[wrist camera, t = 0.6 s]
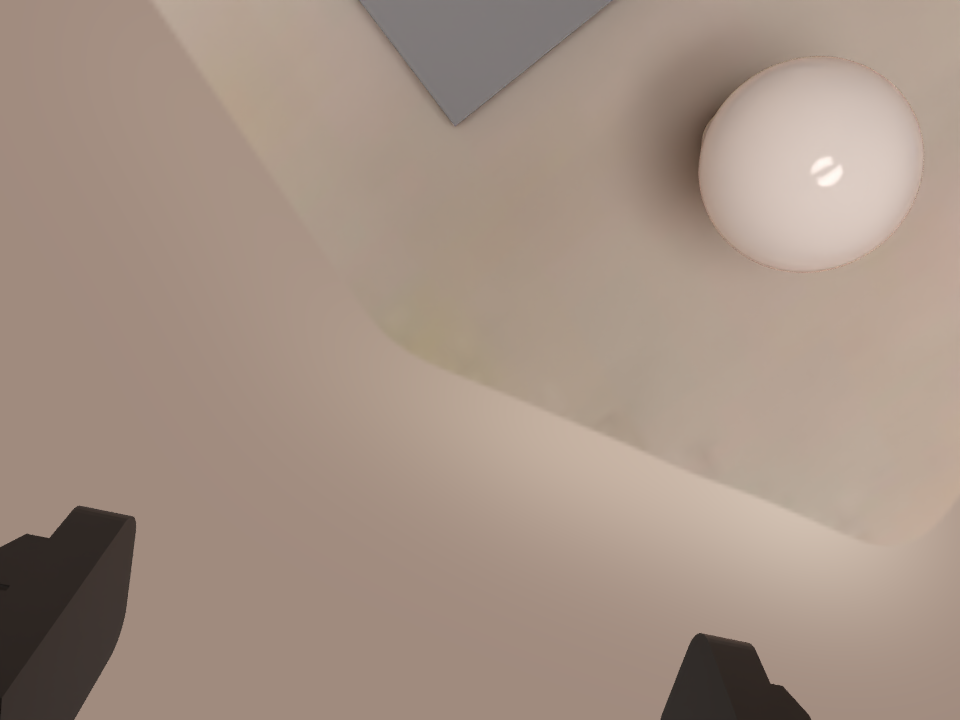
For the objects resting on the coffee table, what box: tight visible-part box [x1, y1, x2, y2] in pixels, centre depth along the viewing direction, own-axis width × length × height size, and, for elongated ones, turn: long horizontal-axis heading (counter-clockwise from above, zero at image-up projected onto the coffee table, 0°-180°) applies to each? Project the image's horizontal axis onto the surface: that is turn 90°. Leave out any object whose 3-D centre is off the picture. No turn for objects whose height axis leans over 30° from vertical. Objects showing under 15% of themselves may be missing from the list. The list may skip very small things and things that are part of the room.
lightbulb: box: [699, 56, 924, 273], centre depth 29 cm, size 6×6×11 cm
